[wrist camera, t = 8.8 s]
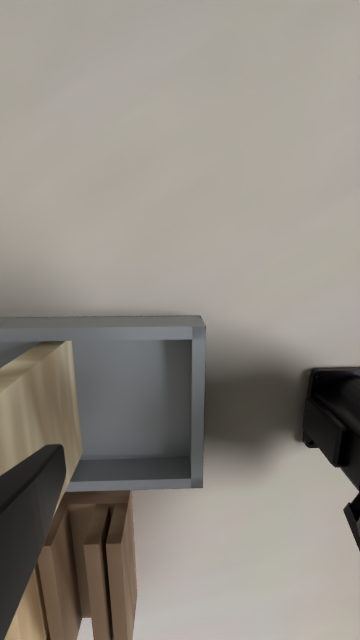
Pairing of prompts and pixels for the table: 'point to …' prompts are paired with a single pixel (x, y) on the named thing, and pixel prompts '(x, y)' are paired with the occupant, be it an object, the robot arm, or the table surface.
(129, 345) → the gray tray
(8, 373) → the birch sheet
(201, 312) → the table surface
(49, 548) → the walnut rack
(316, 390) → the robot arm
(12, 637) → the upper oak offcut
